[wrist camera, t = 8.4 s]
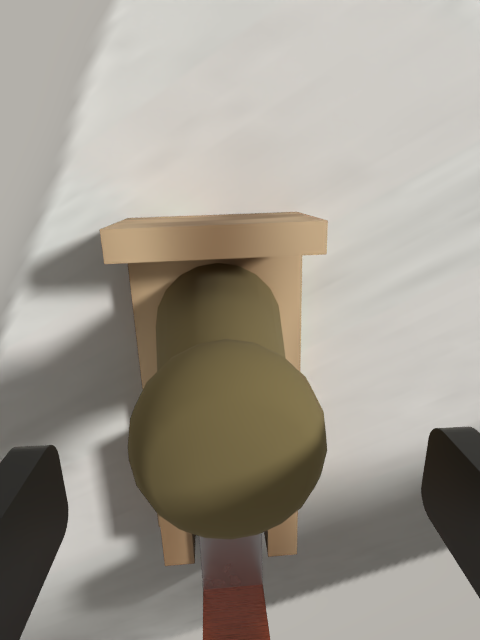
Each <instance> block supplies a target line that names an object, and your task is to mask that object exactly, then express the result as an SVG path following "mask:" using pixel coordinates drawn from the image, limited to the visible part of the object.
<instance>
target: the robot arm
mask: <svg viewBox="0 0 480 640" xmlns="http://www.w3.org/2000/svg"><path fill="white" fill-rule="evenodd" d="M421 493H422V500H423V505H424V508H425V511H426V513H427V515H428V517H429V519H430V521H431V522H432V524H433V525H434V527H435V529H436V530H437V532H438V533H439V535H440V536H441V538H442V540H443V541H444V543H445V544H446V546H447V547H448V549H449V551H450V552H451V554H452V555H453V557H454V558H455V560H456V562H457V563H458V565H459V566H460V568H461V569H462V571H463V573H464V574H465V576H466V577H467V579H468V581H469V582H470V584H471V585H472V587H473V588H474V590H475V592H476V593H477V595H478V596H479V598H480V433H479V432H478V431H477V430H475V429H474V428H472V427H453V428H435V429H433V430H432V431H431V433H430V435H429V440H428V446H427V453H426V460H425V466H424V473H423V479H422V487H421ZM67 522H68V502H67V496H66V491H65V486H64V481H63V475H62V470H61V465H60V459H59V455H58V451H57V449H56V447H55V446H53V445H47V446H25V447H14V448H13V449H11V450H10V451H9V453H8V454H7V455H6V456H5V458H4V459H3V460H2V462H1V463H0V640H19V639H20V637H21V634H22V632H23V630H24V628H25V625H26V623H27V621H28V618H29V616H30V614H31V611H32V609H33V607H34V605H35V602H36V600H37V598H38V595H39V593H40V591H41V588H42V586H43V584H44V582H45V579H46V577H47V575H48V572H49V570H50V568H51V565H52V563H53V561H54V559H55V556H56V554H57V552H58V549H59V547H60V545H61V542H62V540H63V538H64V535H65V532H66V528H67Z"/></svg>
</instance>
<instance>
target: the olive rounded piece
mask: <svg viewBox="0 0 480 640" xmlns="http://www.w3.org/2000/svg"><path fill="white" fill-rule="evenodd" d="M156 349H157V372H156V373H155V374H154V375H153V376H152V377H151V378H150V379H149V380H148V381H147V382H146V385H145V387H144V389H143V391H142V393H141V395H140V397H139V399H138V401H137V403H136V405H135V407H134V410H133V413H132V415H131V418H130V426H129V438H128V455H129V462H130V465H131V469H132V472H133V475H134V479H135V482H136V485H137V487H138V488H139V489H140V491H141V492H142V493H143V495H144V496H145V497H146V499H147V500H148V501H149V503H150V504H151V505H152V507H153V508H154V509H155V511H156V512H157V513H158V515H159V516H161V517H162V518H164V519H165V520H167V521H168V522H169V523H171V524H172V525H174V526H175V527H177V528H178V529H180V530H182V531H185V532H188V533H191V534H194V535H197V536H200V537H203V538H215V539H237V538H242V537H248V536H253V535H258V534H260V533H262V532H265V531H267V530H269V529H271V528H273V527H275V526H278V525H280V524H282V523H283V522H284V521H285V520H287V519H288V518H289V517H290V516H291V515H293V514H294V513H295V512H296V511H297V510H299V509H300V508H301V507H302V506H303V504H304V503H305V501H306V500H307V498H308V497H309V495H310V493H311V492H312V490H313V489H314V487H315V486H316V484H317V482H318V480H319V478H320V476H321V472H322V468H323V464H324V460H325V457H326V453H327V443H326V431H325V422H324V412H323V410H322V408H321V406H320V404H319V402H318V400H317V398H316V396H315V394H314V392H313V390H312V388H311V386H310V384H309V383H308V381H307V379H306V377H305V376H304V375H303V374H302V373H301V372H300V371H298V370H297V369H296V368H295V367H294V366H293V365H292V364H291V363H290V362H289V361H288V360H287V359H286V357H285V350H284V342H283V334H282V327H281V319H280V312H279V305H278V303H277V301H276V299H275V297H274V295H273V293H272V291H271V289H270V288H269V287H268V286H267V285H266V284H265V283H264V282H263V281H262V280H261V279H260V278H259V277H258V276H257V275H256V274H254V273H252V272H250V271H248V270H246V269H244V268H242V267H240V266H237V265H230V264H223V263H214V264H208V265H202V266H197V267H195V268H193V269H192V270H190V271H188V272H186V273H184V274H182V275H180V276H179V277H178V278H177V279H176V280H175V281H174V282H173V283H172V284H171V285H170V286H169V287H168V288H167V289H166V291H165V293H164V295H163V297H162V300H161V302H160V304H159V306H158V310H157V320H156Z"/></svg>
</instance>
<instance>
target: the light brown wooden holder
mask: <svg viewBox="0 0 480 640" xmlns="http://www.w3.org/2000/svg"><path fill="white" fill-rule="evenodd" d="M327 225H328V221H327V220H323V219H320V218H317V217H313V216H310V215H306V214H303V213H299V212H282V213H255V214H228V215H202V216H175V217H148V218H127V219H125V220H122V221H120V222H117V223H115V224H112V225H110V226H107V227H105V228H102V229H100V236H101V243H102V250H103V258H104V264H118V263H128V270H129V279H130V287H131V296H132V304H133V313H134V321H135V329H136V338H137V346H138V355H139V363H140V371H141V380H142V388H143V389H144V387H145V385H146V382H147V381H148V380H149V379H150V378H151V377H152V376H153V375H154V374H155V373H156V372H157V349H156V320H157V310H158V306H159V304H160V302H161V300H162V297H163V295H164V293H165V291H166V289H167V288H168V287H169V286H170V285H171V284H172V283H173V282H174V281H175V280H176V279H177V278H178V277H179V276H180V275H182V274H184V273H186V272H188V271H190V270H192V269H193V268H195V267H197V266H202V265H208V264H214V263H223V264H230V265H237V266H240V267H242V268H244V269H246V270H248V271H250V272H252V273H254V274H256V275H257V276H258V277H259V278H260V279H261V280H262V281H263V282H264V283H265V284H266V285H267V286H268V287H269V288H270V289H271V291H272V293H273V295H274V297H275V299H276V301H277V303H278V305H279V312H280V319H281V327H282V334H283V342H284V350H285V357H286V359H287V360H288V361H289V362H290V363H291V364H292V365H293V366H294V367H295V368H296V369H297V370H298V371H300V352H301V293H302V255H322V254H326V253H327ZM157 515H158V513H157ZM297 515H298V510H297V511H296V512H295V513H294V514H293V515H291V516H290V517H289V518H288V519H287V520H285V521H284V522H283V523H282V524H280V525H278V526H275V527H273V528H271V529H269V530H267V531H265V532H264V534H265V540H266V546H267V552H268V557H271V556H282V555H293V554H297ZM158 523H159V527H161V536H162V544H163V553H164V561H165V566H171V565H182V564H193V563H195V536H196V535H194V534H191V533H188V532H185V531H182V530H180V529H178V528H177V527H175V526H174V525H172V524H171V523H169V522H168V521H167V520H165V519H164V518H162V517H161V516H159V515H158Z"/></svg>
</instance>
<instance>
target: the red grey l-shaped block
mask: <svg viewBox="0 0 480 640" xmlns="http://www.w3.org/2000/svg"><path fill="white" fill-rule="evenodd" d="M199 541H200V553H201V566H202V578H203V640H270V635H269V627H268V620H267V613H266V606H265V598H264V591H263V581H262V533H260V534H258V535H253V536H248V537H242V538H237V539H215V538H203V537H200V536H199Z"/></svg>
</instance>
